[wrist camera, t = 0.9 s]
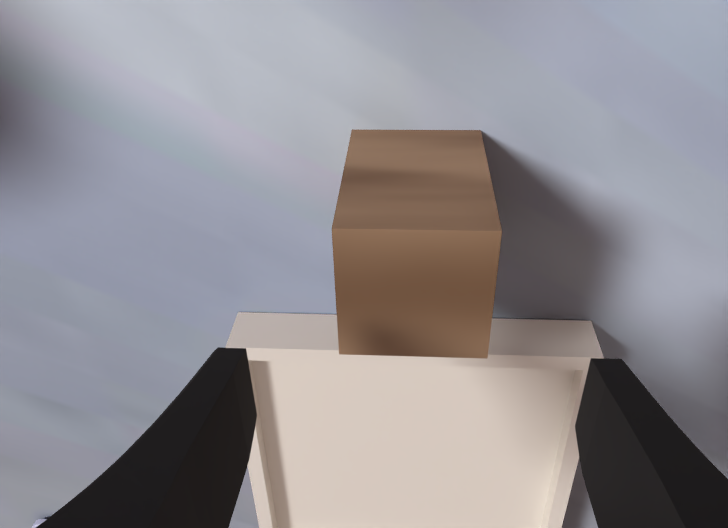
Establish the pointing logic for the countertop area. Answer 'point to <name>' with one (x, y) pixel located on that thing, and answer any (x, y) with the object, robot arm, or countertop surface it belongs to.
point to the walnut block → (416, 245)
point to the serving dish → (413, 427)
